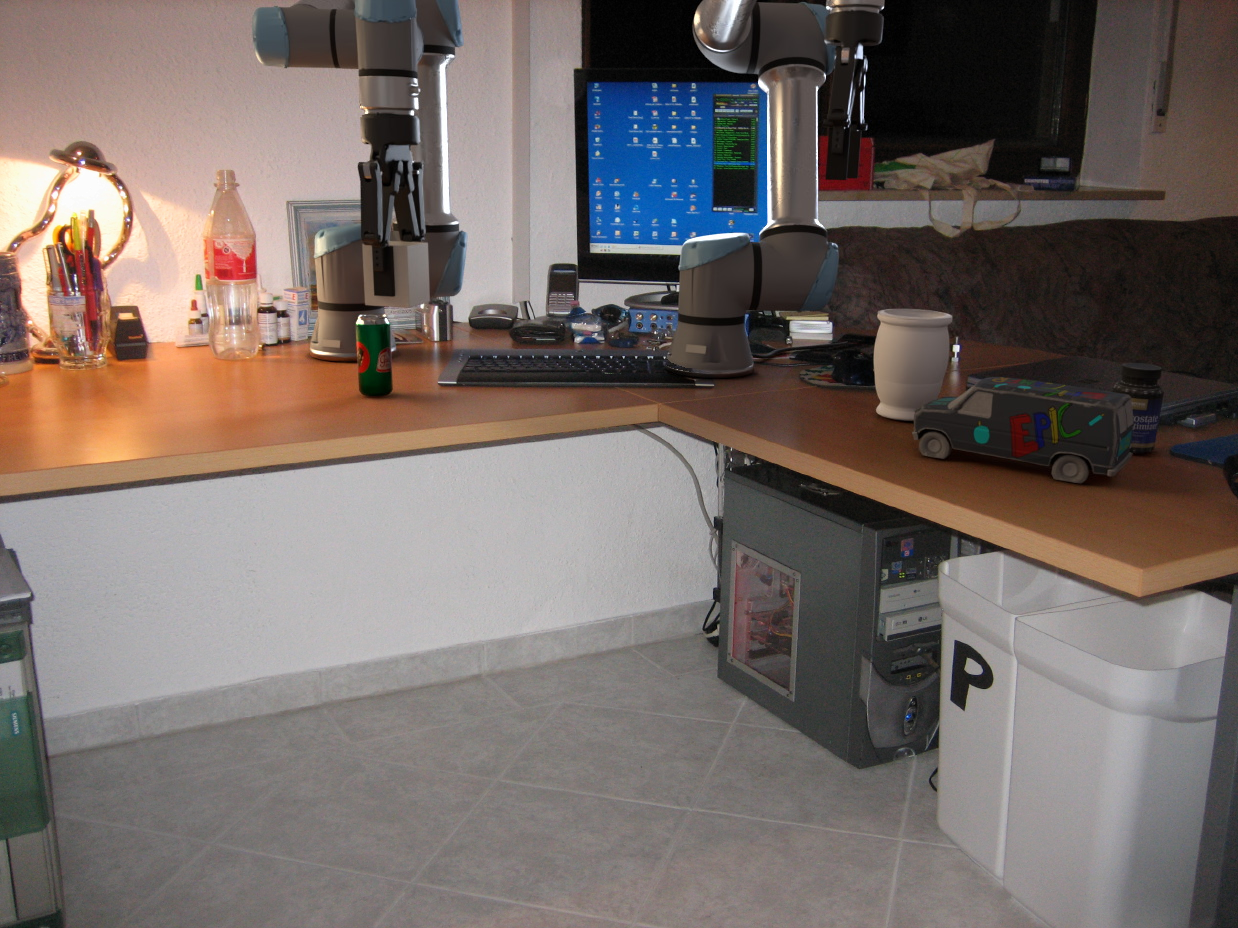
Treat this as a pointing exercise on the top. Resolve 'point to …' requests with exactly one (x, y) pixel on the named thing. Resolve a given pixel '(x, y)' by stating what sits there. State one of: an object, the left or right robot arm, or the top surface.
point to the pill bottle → (1142, 402)
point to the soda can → (374, 355)
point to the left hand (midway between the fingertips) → (396, 292)
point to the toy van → (1032, 426)
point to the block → (401, 275)
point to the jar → (910, 360)
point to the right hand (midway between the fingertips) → (842, 179)
